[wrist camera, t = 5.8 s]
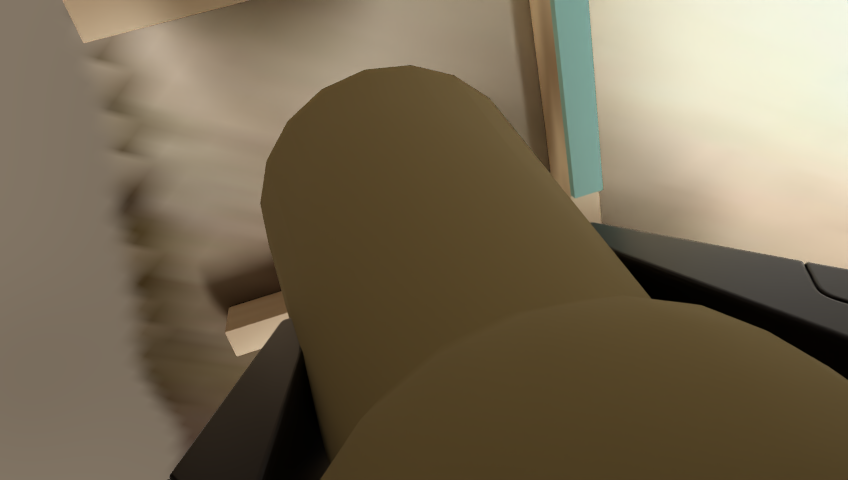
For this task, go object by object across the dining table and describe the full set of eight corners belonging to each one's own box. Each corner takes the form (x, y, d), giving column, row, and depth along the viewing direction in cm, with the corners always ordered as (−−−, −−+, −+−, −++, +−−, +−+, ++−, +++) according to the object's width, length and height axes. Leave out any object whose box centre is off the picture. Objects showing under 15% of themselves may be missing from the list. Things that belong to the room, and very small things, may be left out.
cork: (413, 356, 15) (676, 1124, 5) (202, 232, 12) (-145, 1353, 2) (575, 178, 13) (1341, 710, 4) (381, -2, 11) (1263, 204, 1)
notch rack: (601, 413, 26) (622, 442, 24) (325, 511, 24) (328, 549, 23) (491, -700, 11) (525, -810, 10) (-203, -606, 10) (-296, -717, 8)
